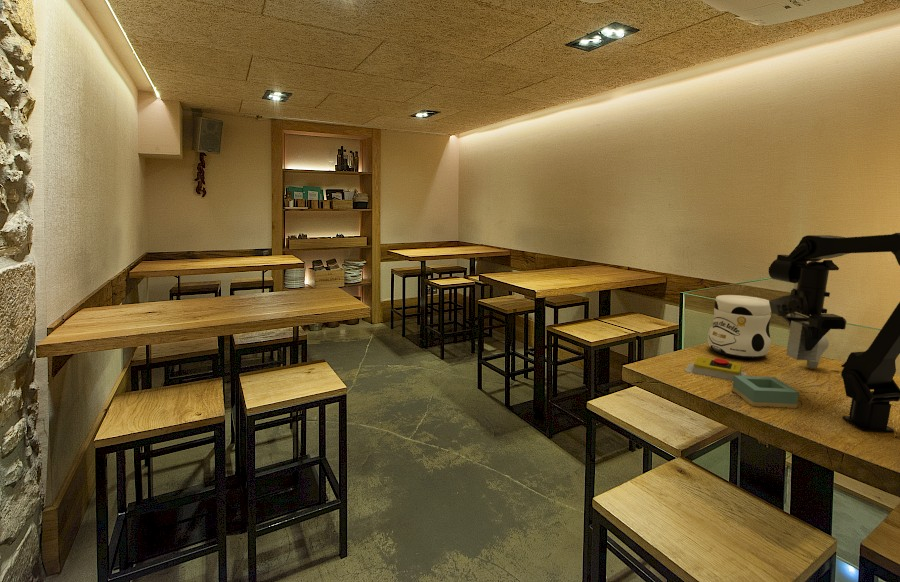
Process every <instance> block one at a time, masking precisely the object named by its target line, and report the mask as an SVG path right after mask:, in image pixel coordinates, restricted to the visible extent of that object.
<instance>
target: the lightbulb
mask: <svg viewBox="0 0 900 582" xmlns="http://www.w3.org/2000/svg"><path fill="white" fill-rule="evenodd" d="M829 344H830V342H829V339H828V338H827V336H826V335H824V336H823V337H822V338H821V340H820V341H819V343H818V349H817V355H816V361H814V360H806V367H808V368H809V369H810V370H815V369H817V368H818V365H819V362H820V361H821V357H822V356H823V354H824V353H825V352H826V351H827V350H828V347H829V346H830V345H829Z"/></svg>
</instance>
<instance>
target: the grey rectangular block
mask: <svg viewBox="0 0 900 582" xmlns="http://www.w3.org/2000/svg"><path fill="white" fill-rule="evenodd" d="M801 323H805V324H809V322H808V321H797V320H791V325H790V326H789V334H788V339H787V348H786V353H785V354H786V355H787V356H788V357H791V358H793V359H794V360H796V361H807V360H814V361H816V355H817V349H818V343H819V342H818V343H817V344H816V345H815V347H814V348H813V349H812V350H811V351H807V350H806V346H805V343H806V329H805V328H804V327H803V326H802V324H801Z"/></svg>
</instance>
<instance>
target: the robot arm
mask: <svg viewBox="0 0 900 582" xmlns="http://www.w3.org/2000/svg"><path fill="white" fill-rule="evenodd" d="M865 253H866V254H867V253H891V254H893V255H894V257H895V260H896V262H897V264H898V266H900V232H895V233H891V234H876V235H863V236H862V235H861V236H850V237H849V236H848V237H845V236H841V235H840V236H839V235H829V234H828V235H827V234H826V235H825V234H824V235H823V234H820V235H819V234H818V235H817V234H815V235H814V234H813V235H812V234H811V235H809V234H808V235H804V236H803V237H801V239H800V240H799V243H798V244H797V245H796V247H794V249H793V250H792V251H791V252H790V253H789V254H777V256H776V258H775V260H773V261H772V262H771V263H770V264H769V265H770V266H768V275H769V277H770V279H772V280H774V281H780V282H785V283H792V284H797V285H796V288H792V289H791V290H790V294H788V295H784V296H783V295H782V296H781V297H777V298H773V299H770V300H769V304H770V308H771V314H775V315H777V316H778V317H781V318H783V320H785V321H786V322H787V323H788V326H789V327H790V325H791V320H797V321H808V322H809V324H805V323H801V324H802V326H803V327H804V328H805V329H806V343H805V346H806V350H807V351H811V350H812V349H813V348H814V347H815V345H816V344H817V343H818V342H819V341H820V340H821V338H822V337H823V336H826V335H827V333H829V332H830V331H831V330H846V328H847V327H846V326H847V323H848V322H847V320H846V319H845V318H844V317H843V316H840V315H837V314H835V313H828V308H824V305H825V299H826V297H827V298H830V294H831V292H829V291H827V287H828V286H827V285H828V279H829V273H830V271H839V270H840V268H839V266H838V265H836V264H835V263H834V261H833V260H832V259H833V258H838V257H843V256H845V255H849V254H865ZM821 260H822V261H821ZM899 356H900V301H899V302H898V303H897V305H896V306H895V308H894V309H893V311H892V312H891V314H890V316H889V317H888V318H887V320H886V321H885V322H884V324H883V326H882V327H881V329H880V330H879V332H878V333H877V335H876V336H875V337H874V338H873V341H872V342H871V344H870V345H869V346H868V348H867V349H866V350H865V351H853V352H850V354H848V356H847V358H846V361H845V362H844V363H843V364H841V366H840V367H841V368H842V370H841V372H840V376H841V378H842V381H843V385H844V387H843V388H844V390H845V396H846V397H848V398H850V399H851V403H850V409H849V415H842V417H841V418H842V419H843V420H844V421H847V422H848V423H850V424H851V425H853V426H854V427H856V428H858V429H860V430H861V431H864V432H880V433H882V432H883V433H884V432H885V433H894V432H895V429H893V427H890V426H888V425H889V424H888V423H889V419H890V414H891V409H892V404H891V403H892V402H895V403H896V402H900V387H899V385H898V384H897V382H896V381H895V380H894V377H895V375H896V372H897V369H896V368H897V366H896V360H897V359H898V357H899Z"/></svg>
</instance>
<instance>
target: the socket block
mask: <svg viewBox="0 0 900 582" xmlns="http://www.w3.org/2000/svg"><path fill="white" fill-rule="evenodd" d="M731 389H732V391H733V392H734V393H735V394H736V395H738V396H741V398H742V399H743V400H745V401H746V402H747V403H748V404H749V403H750V405H751V406H752V407H762V406H770V407H769V408H785V407H787V408H788V409H790V408H791V409H792V408H793V409H797V408H798V402H799V401H798V400H799V395H800V391H798V390H797V389H795V388H793V387H792V386H790V385H789V384H786V383H785V382H784V381H781V380H780V379H779V378H777V377H776V376H759V375H758V376H757V375H756V376H754V375H747V376H735V375H734V380H733V381H732V388H731ZM772 406H773V407H772ZM787 408H786V409H787Z"/></svg>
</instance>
